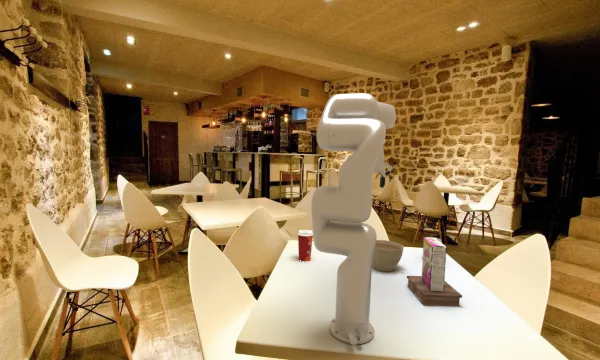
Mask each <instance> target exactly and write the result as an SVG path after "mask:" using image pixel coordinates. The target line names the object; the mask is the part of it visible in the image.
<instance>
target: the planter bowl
mask: <svg viewBox="0 0 600 360" xmlns="http://www.w3.org/2000/svg"><path fill="white" fill-rule="evenodd" d="M403 252H404V245H402V244H400V243H398V242H395V241H393V240H392V241H391V240H384V239H383V240H382V239H376V246H375V251H374V255H373V262H372V268H374V269H375V270H379V271H382V272H392V271H394V270H395V267H396V266H397V265H398V264H399V263H400V261H401V259H402V257H403V254H404V253H403Z"/></svg>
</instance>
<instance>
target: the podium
mask: <svg viewBox="0 0 600 360" xmlns="http://www.w3.org/2000/svg"><path fill="white" fill-rule="evenodd" d="M406 279H408V281H407V286H408V288H409V289H410V290H411V291H412V293H413V294H414V296H416V298H418V299H419V301H420V302H421V303H422V304H423V306H434V307H435V306H439V307H441V306H443V307H447V306H448V307H460V301H461V299H462V298H463V294H461V293H460V292H459V291H458V290H456V289H455V288H454V287H453V286H452V285H450V284H449V283H448V282H447V281H445V280H444V292H436V291H430V290H429V288H428V287H427V285H426V284H425V282H424V281H423V279H422V275H406ZM460 298H461V299H460Z"/></svg>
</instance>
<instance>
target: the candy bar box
mask: <svg viewBox="0 0 600 360" xmlns="http://www.w3.org/2000/svg"><path fill="white" fill-rule="evenodd" d="M428 237H429V236H426V237H425V236H424V237H423V245H422V246H423V247H422V265H421V266H422V267H421V276H422V279H423V281H424V282H425V284H426V285H427V287H428V288H429V290H430V291H436V292H444V281H445V278H446V260H447V249H448V248H447V245H445V243H442V242H440V241H439V240H438V239H439V238H438V237H434V238H428ZM437 238H438V239H437Z"/></svg>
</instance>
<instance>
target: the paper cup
mask: <svg viewBox="0 0 600 360" xmlns="http://www.w3.org/2000/svg"><path fill="white" fill-rule="evenodd" d="M297 242H298V243H297V245H298V247H297V248H298V260H299V261H300V260H301V261H300V262H302V261H308V262H310V261H311V258H312V257H311V256H312V246H313V230H311V229H300V230H298V233H297Z"/></svg>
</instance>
